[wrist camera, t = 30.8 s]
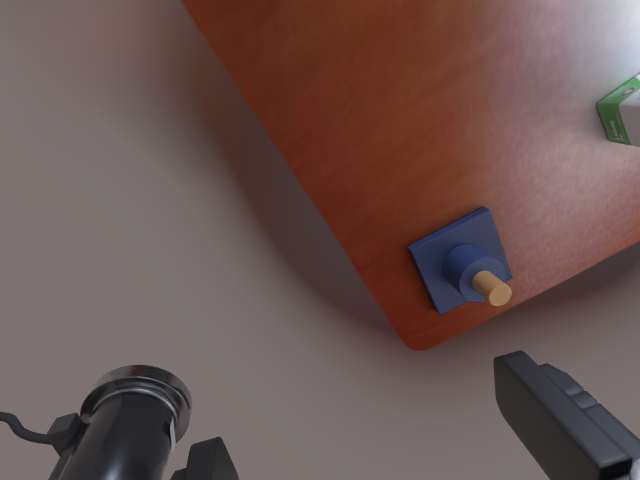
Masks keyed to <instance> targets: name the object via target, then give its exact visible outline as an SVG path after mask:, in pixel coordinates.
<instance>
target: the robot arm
mask: <svg viewBox="0 0 640 480" xmlns="http://www.w3.org/2000/svg"><path fill="white" fill-rule="evenodd" d="M494 376H495V392H496V400H497V404H498V407H499V409H500V411H501V413H502V415H503V417H504V418H505V420H506V421H507V422H508V424H509V425H510V426H511V428H512V429H513V431H514V432H515V433H516V435H517V436H518V437H519V439H520V440H521V441H522V442H523V444H524V445H525V447H526V448H527V449H528V451H529V452H530V453H531V454H532V456H533V457H534V458H535V460H536V461H537V463H538V464H539V465H540V466H541V468H542V469H543V470H544V472H545V473H546V474H547V476H548V477H549V478H550V480H640V440H639V439H638V438H637V437H636V436H635V435H634V434H633V433H632V432H631V431H630V430H629V429H627V428H626V427H625V426H624V425H623V424H622V423H621V422H620V421H619V420H618V419H616V418H615V417H614V416H613V415H612V414H611V413H610V412H609V411H608V410H606V408H604V407H603V406H602V405H601V404H598V403H597V401H596V399H595V398H593V397H592V396H591V395H590V394H589V393H588V392H587V391H584V389H583V388H582V387H581V386H580V385H579V384H578V383H577V382H576V381H575V380H574V379H573V378H571V377H570V376H569V375H568V374H567V373H565V372H563V371H561V370H559V369H557V368H555V367H553V366H551V365H549V364H547V363H546V364H543V365H539V366H538V365H537V364H536V363H535V362H534V361H533V360H532V359H531V358H530V357H529V356H528V355H527V354H526V353H525V352H523V351H516V352H513V353H509V354H506V355H502V356H499V357H496V358H495V359H494ZM0 421H4V422H6V423H8V425H9V426H10V428H11V429H12V431H13V432H14V433H15V434H16V435H17V436H18V437H20V438H22V439H25V440H28V441H31V442H36V443H42V444H50V445H52V446H53V447H54V449H55V450H56V451H57V453H58V454H59V456H60V459H59V461H58V463H57V464H56V466H55V468H54V470H53V472H52V473H51V475H50V477H49V479H48V480H163V477H164V473H165V469H166V465H167V461H168V457H169V453H170V449H171V445H172V451H174V448H175V444H176V442H175V431H176V428H177V424H178V413H177V410H176V408H175V406H174V404H173V403H172V402H171V401H170V399H168V398H167V397H166V396H165V395H163V394H162V393H160V392H158V391H155V390H153V389H150V388H145V387H124V388H119V389H116V390H113V391H111V392H109V393H107V394H106V395H104V396H103V397H102V398H101V399H100V400H99V401H98V402H97V403H96V405H95V406H94V407H93V408H91V409H88V410H86V411H85V413H84V415H83V416H82V418H80V417H79V415H78V413H73V414H69V415H66V416H62V417H59V418H57V419H56V420H55V421H54V423H53V425H52V426H51V428H50V429H49V431H48V433H47V434H39V433H35V432H32V431H29V430H27V429H25V428H24V427H23V426H22V425H21V423H20V422H19V420H18V419H17V417H16V416H14V415H13V414H10V413H5V412H0ZM170 480H239V478H238V475H237V472H236V469H235V467H234V465H233V463H232V460H231V458H230V456H229V454H228V451H227V449H226V447H225V444H224V443H223V440H222V439H221V437H216V438H213V439H209V440H206V441H203V442H199V443H195V444H193V445H192V446H191V448H190V451H189V457H188V462H187V467H186V468H185V469H181V470H177V471H175V472H174V474H173V476H172V477H171V479H170Z"/></svg>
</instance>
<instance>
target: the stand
mask: <svg viewBox="0 0 640 480" xmlns="http://www.w3.org/2000/svg"><path fill="white" fill-rule="evenodd" d="M407 248H408V250H409V252H410V255H411V257H412V259H413V261H414V263H415V266H416V268H417V270H418V272H419V275H420V277H421V279H422V281H423V283H424V286H425V288H426V290H427V292H428V295H429V297H430V299H431V301H432V304H433V306H434V308H435V310H436V311H437V313H438V314H439V315H441V314H443V313H445V312H447V311H449V310H451V309H453V308H455V307H457V306H459V305H461V304H463V303H465V302H467V301H471V302H484V301H488V302H489V303H490V304H492V305H494V306H501V305H504V304H505V303H507V302H508V301H509V299H510V297H511V289H510V287H509V286H507V285H506V284H505V283H504V282H506V281H508V280H509V279H511V278H512V275H511V272H510V269H509V266H508V263H507V260H506V257H505V254H504V251H503V248H502V245H501V242H500V239H499V236H498V233H497V230H496V227H495V224H494V221H493V218H492V215H491V212H490V210H489V209H487V208H485V207H482V208H480V209H478V210H476V211H474V212H472V213H470V214H469V215H467V216H465V217H463V218H461V219H459V220H457V221H455V222H453V223H451V224H449V225H447V226H446V227H444V228H442V229H440V230H438V231H436V232H434V233H432V234H430V235H428V236H426V237H425V238H423V239H421V240H419V241H417V242H415V243H413V244H411V245H409V246H407Z"/></svg>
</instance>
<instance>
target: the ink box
mask: <svg viewBox="0 0 640 480" xmlns="http://www.w3.org/2000/svg"><path fill="white" fill-rule="evenodd" d="M597 108H598V111H599V113H600V116H601V119H602V121H603V124H604V127H605V130H606V133H607V135H608V138H609V141H610V142H615V143H621V144H627V145H632V146H637V147H640V74H638V75H637V76H635V77H634V78H632V79H631V80H629V81H628V82H627V83H625V84H624V85H623V86H621V87H620V88H618V89H617V90H615V91H614V92H612V93H611V94H610V95H608V96H607V97H605V98H604V99H602V100H601V101H599V102H598V103H597Z"/></svg>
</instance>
